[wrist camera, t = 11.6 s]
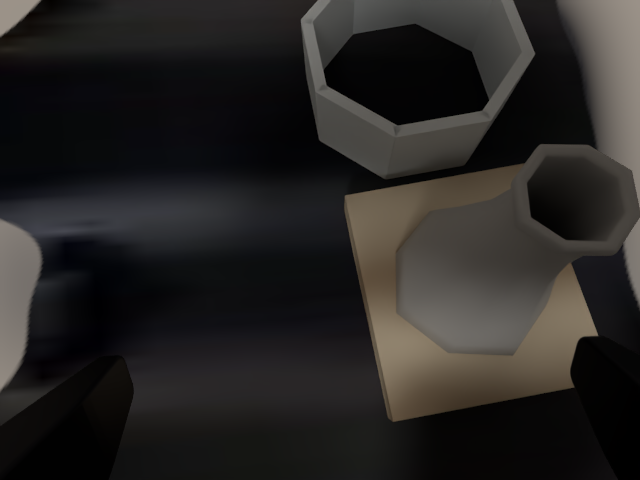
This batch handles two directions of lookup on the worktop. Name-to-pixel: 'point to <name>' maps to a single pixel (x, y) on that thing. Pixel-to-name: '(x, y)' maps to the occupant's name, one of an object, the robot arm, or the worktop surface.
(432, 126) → the collar
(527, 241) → the flask
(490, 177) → the oak board
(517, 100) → the worktop surface
